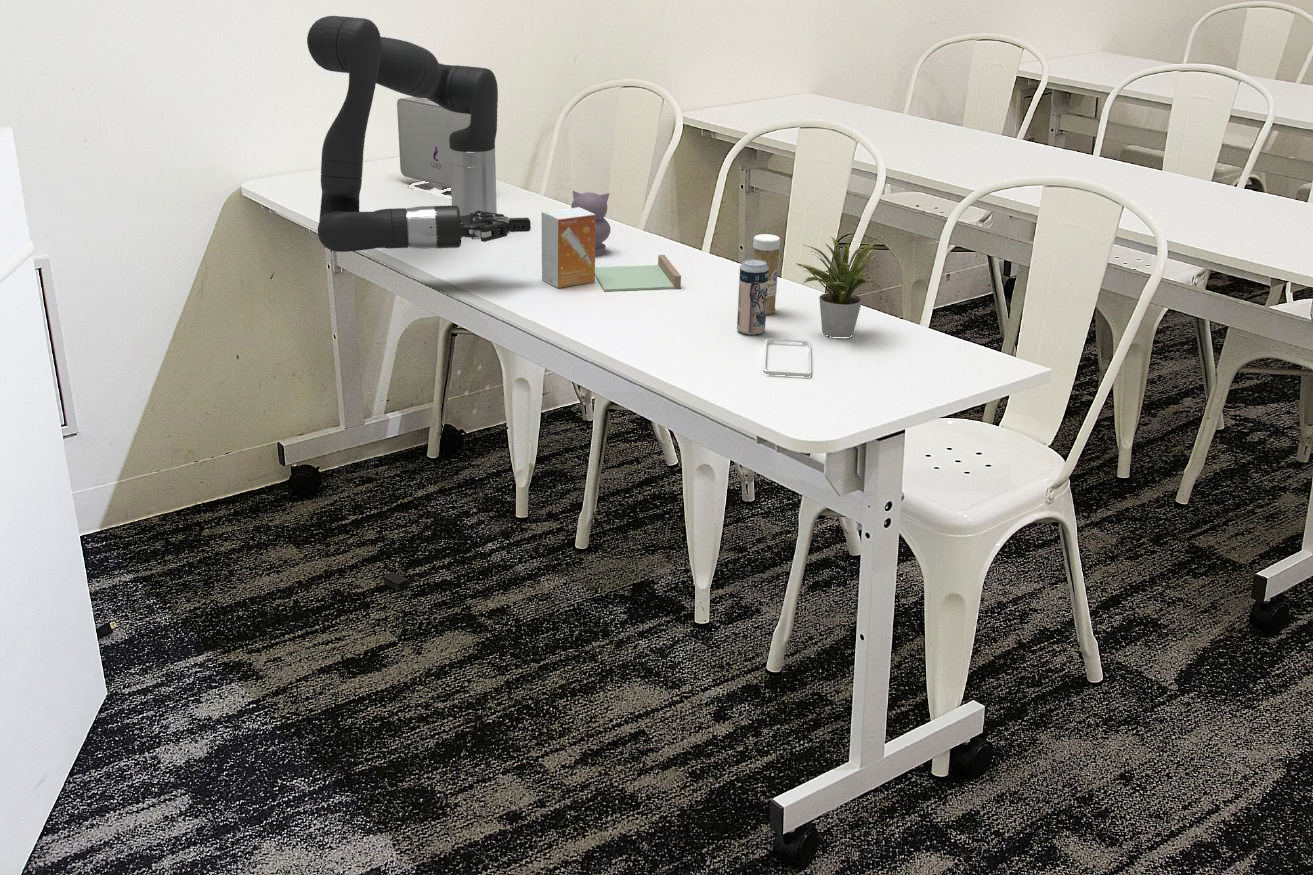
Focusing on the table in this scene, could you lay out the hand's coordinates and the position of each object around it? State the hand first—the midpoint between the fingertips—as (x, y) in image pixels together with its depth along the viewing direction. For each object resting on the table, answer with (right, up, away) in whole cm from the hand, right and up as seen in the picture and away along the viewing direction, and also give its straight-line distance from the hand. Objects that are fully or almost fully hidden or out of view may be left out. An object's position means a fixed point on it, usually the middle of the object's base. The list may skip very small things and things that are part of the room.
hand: (529, 224), depth 238 cm
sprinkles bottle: (+41, -17, -7) cm, 45 cm away
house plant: (+54, -21, -16) cm, 60 cm away
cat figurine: (+9, -2, +24) cm, 26 cm away
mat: (+18, -9, +8) cm, 22 cm away
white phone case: (+44, -27, -29) cm, 59 cm away
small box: (+7, -10, +6) cm, 13 cm away
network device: (-27, +19, +69) cm, 76 cm away
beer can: (+39, -21, -17) cm, 47 cm away
